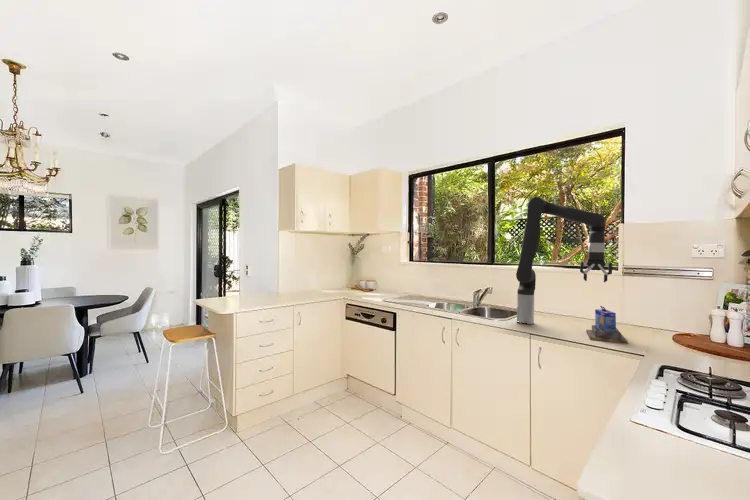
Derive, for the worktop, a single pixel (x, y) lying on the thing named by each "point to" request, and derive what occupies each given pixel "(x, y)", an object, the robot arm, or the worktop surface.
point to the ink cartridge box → (605, 320)
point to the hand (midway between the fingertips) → (595, 281)
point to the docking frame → (606, 336)
